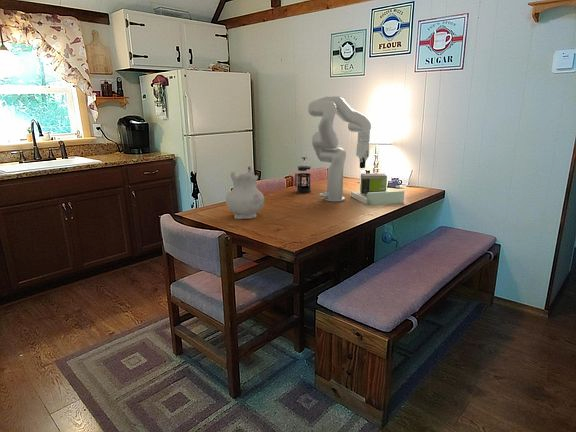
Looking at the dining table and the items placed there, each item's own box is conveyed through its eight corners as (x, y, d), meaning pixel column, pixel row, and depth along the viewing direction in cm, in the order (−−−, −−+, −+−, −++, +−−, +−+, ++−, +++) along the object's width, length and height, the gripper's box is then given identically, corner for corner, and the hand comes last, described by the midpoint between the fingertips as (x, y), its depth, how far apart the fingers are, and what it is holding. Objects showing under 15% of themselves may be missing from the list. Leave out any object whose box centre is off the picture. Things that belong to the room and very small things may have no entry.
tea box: (383, 196, 244) (385, 173, 240) (385, 199, 234) (387, 175, 230) (359, 195, 245) (360, 172, 241) (360, 199, 235) (362, 175, 231)
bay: (367, 205, 221) (368, 193, 219) (350, 196, 243) (351, 185, 241) (403, 202, 227) (404, 191, 225) (383, 194, 249) (384, 183, 247)
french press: (314, 191, 256) (315, 157, 250) (307, 194, 248) (307, 158, 242) (299, 189, 262) (299, 155, 256) (291, 192, 255) (292, 157, 248)
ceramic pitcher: (232, 212, 210) (227, 167, 203) (267, 209, 209) (263, 164, 202) (225, 223, 190) (218, 174, 183) (264, 221, 189) (259, 171, 182)
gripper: (353, 138, 252) (352, 166, 257) (363, 140, 238) (362, 170, 243) (363, 138, 254) (362, 165, 259) (374, 140, 240) (372, 169, 245)
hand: (362, 167), depth 251 cm, fingers closed
